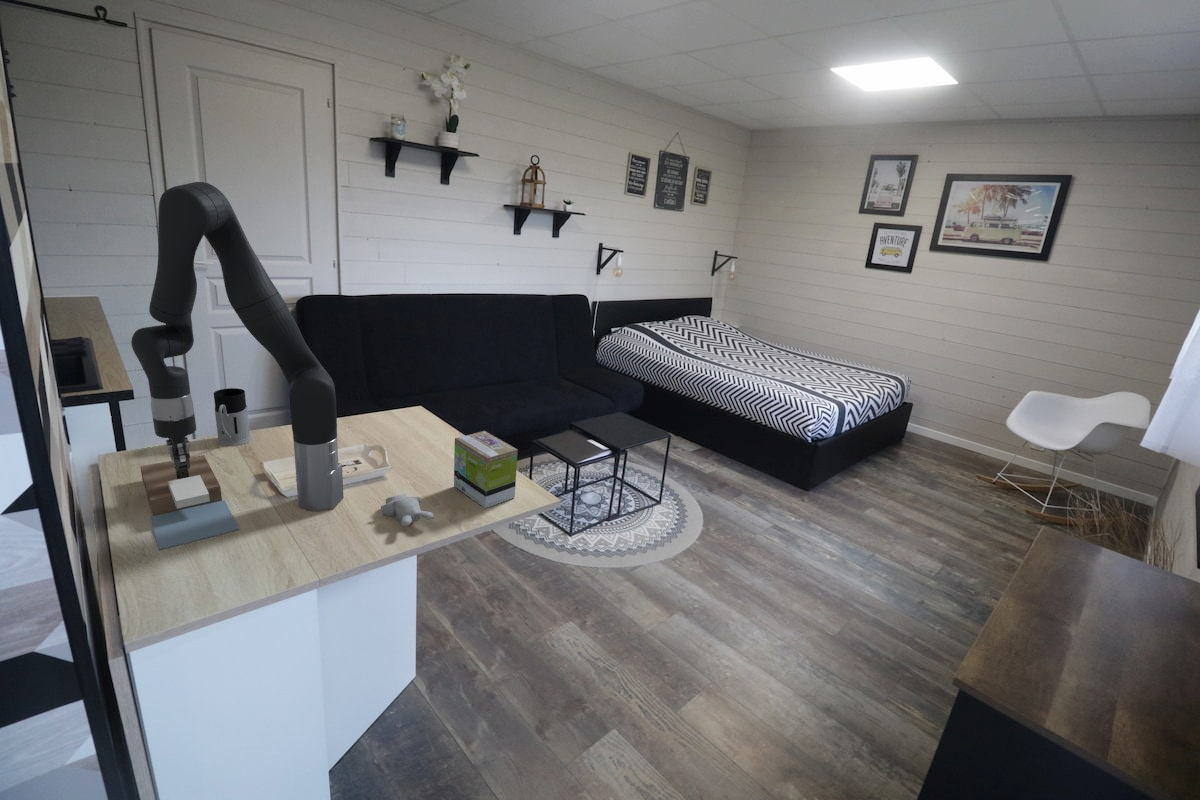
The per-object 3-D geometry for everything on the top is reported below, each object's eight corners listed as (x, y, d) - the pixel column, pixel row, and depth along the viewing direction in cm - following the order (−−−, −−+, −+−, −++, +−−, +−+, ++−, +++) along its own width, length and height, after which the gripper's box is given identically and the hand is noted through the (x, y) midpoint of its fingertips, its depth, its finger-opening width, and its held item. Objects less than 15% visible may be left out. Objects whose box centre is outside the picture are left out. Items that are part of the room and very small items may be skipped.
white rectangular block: (169, 488, 127) (167, 481, 126) (200, 482, 131) (199, 475, 130) (177, 508, 121) (175, 501, 120) (209, 501, 125) (208, 493, 124)
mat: (150, 517, 123) (149, 516, 123) (224, 501, 132) (224, 500, 132) (159, 550, 112) (158, 548, 112) (239, 529, 122) (239, 528, 122)
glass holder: (255, 434, 169) (250, 387, 164) (242, 453, 156) (237, 403, 151) (221, 435, 166) (216, 387, 161) (206, 454, 153) (199, 403, 148)
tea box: (452, 487, 150) (453, 436, 145) (483, 477, 157) (484, 429, 153) (484, 509, 141) (487, 456, 136) (516, 498, 148) (519, 447, 143)
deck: (142, 480, 137) (140, 466, 136) (206, 469, 146) (204, 455, 144) (152, 516, 123) (150, 500, 122) (222, 500, 132) (220, 485, 131)
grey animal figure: (411, 486, 140) (438, 505, 129) (412, 505, 141) (439, 525, 130) (373, 495, 134) (398, 516, 123) (374, 515, 135) (399, 537, 124)
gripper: (149, 406, 126) (160, 475, 132) (155, 425, 117) (167, 498, 123) (189, 402, 131) (198, 468, 137) (198, 420, 122) (208, 490, 128)
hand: (183, 482), depth 130 cm, fingers closed
